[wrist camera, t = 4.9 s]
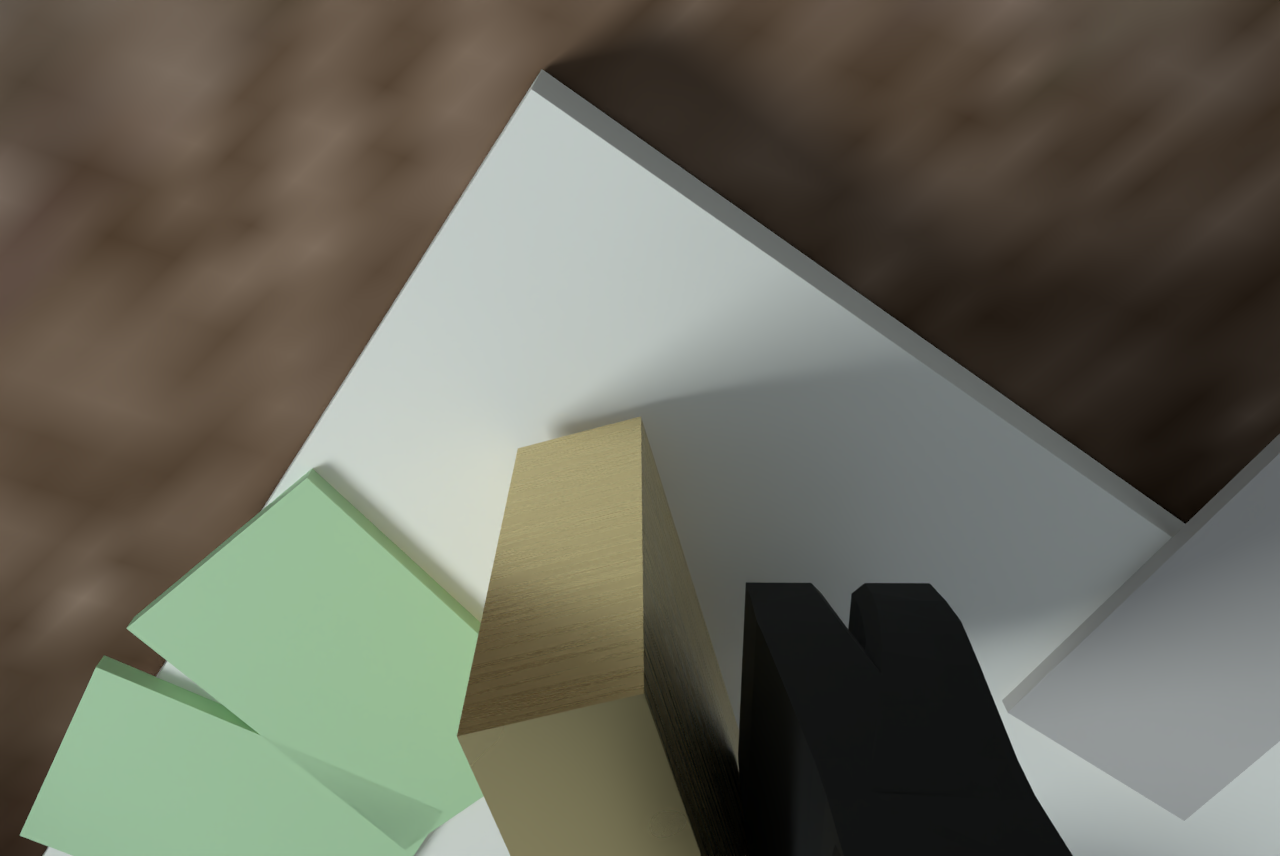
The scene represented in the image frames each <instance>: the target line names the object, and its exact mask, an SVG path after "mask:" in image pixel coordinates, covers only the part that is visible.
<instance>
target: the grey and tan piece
mask: <svg viewBox="0 0 1280 856" xmlns="http://www.w3.org/2000/svg"><path fill="white" fill-rule="evenodd" d="M457 738H458V740H459V743H460V745H461V747H462V749H463V752H464V754H465V756H466V758H467V760H468V763H469V765H470V767H471V769H472V772H473V774H474V776H475V778H476V780H477V783H478V785H479V787H480V789H481V792H482V794H483V796H484V798H485V800H486V803H487V805H488V807H489V809H490V812H491V814H492V816H493V818H494V820H495V823H496V825H497V827H498V829H499V832H500V834H501V836H502V838H503V840H504V843H505V845H506V847H507V849H508V852H509V854H510V856H749V852H748V846H747V840H746V833H745V824H744V815H743V805H742V796H741V787H740V778H739V765H738V743H739V729H738V726H737V722H736V719H735V716H734V713H733V710H732V706H731V703H730V700H729V697H728V694H727V690H726V687H725V684H724V681H723V678H722V674H721V671H720V668H719V665H718V662H717V658H716V655H715V652H714V649H713V646H712V642H711V639H710V636H709V633H708V630H707V626H706V623H705V620H704V617H703V614H702V610H701V607H700V604H699V601H698V598H697V594H696V591H695V588H694V585H693V582H692V578H691V575H690V572H689V569H688V566H687V562H686V559H685V556H684V553H683V550H682V546H681V543H680V540H679V537H678V534H677V530H676V527H675V524H674V521H673V517H672V514H671V511H670V508H669V505H668V501H667V498H666V495H665V492H664V489H663V485H662V482H661V479H660V476H659V473H658V469H657V466H656V463H655V460H654V457H653V453H652V450H651V447H650V444H649V441H648V437H647V434H646V431H645V428H644V425H643V421H642V418H641V417H637V418H633V419H629V420H625V421H621V422H617V423H614V424H610V425H606V426H602V427H598V428H594V429H590V430H587V431H583V432H579V433H575V434H571V435H567V436H564V437H560V438H556V439H552V440H548V441H544V442H540V443H537V444H533V445H529V446H525V447H521V448H518V450H517V454H516V459H515V464H514V469H513V473H512V478H511V483H510V488H509V492H508V497H507V502H506V506H505V511H504V516H503V521H502V525H501V530H500V535H499V539H498V544H497V549H496V554H495V558H494V563H493V568H492V572H491V577H490V582H489V587H488V591H487V596H486V601H485V606H484V610H483V615H482V620H481V624H480V629H479V634H478V639H477V643H476V648H475V653H474V657H473V662H472V667H471V672H470V676H469V681H468V686H467V691H466V695H465V700H464V705H463V709H462V714H461V719H460V724H459V728H458V733H457Z"/></svg>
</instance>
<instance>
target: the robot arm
mask: <svg viewBox="0 0 1280 856" xmlns="http://www.w3.org/2000/svg"><path fill="white" fill-rule="evenodd" d="M738 765H739V778H740V787H741V796H742V805H743V815H744V824H745V833H746V840H747V846H748V852H749V856H1073V855H1072V854H1071V852H1070V850H1069V849H1068V847H1067V846H1066V844H1065V842H1064V841H1063V839H1062V838H1061V836H1060V834H1059V833H1058V831H1057V830H1056V828H1055V826H1054V825H1053V823H1052V822H1051V820H1050V819H1049V817H1048V815H1047V814H1046V812H1045V811H1044V809H1043V807H1042V806H1041V804H1040V803H1039V801H1038V799H1037V798H1036V796H1035V794H1034V792H1033V790H1032V788H1031V786H1030V784H1029V782H1028V780H1027V778H1026V776H1025V774H1024V772H1023V770H1022V767H1021V765H1020V763H1019V761H1018V759H1017V757H1016V754H1015V752H1014V749H1013V747H1012V744H1011V742H1010V739H1009V737H1008V734H1007V732H1006V729H1005V727H1004V724H1003V722H1002V719H1001V717H1000V714H999V712H998V709H997V707H996V704H995V702H994V699H993V697H992V694H991V692H990V689H989V687H988V684H987V682H986V679H985V677H984V674H983V672H982V669H981V667H980V664H979V662H978V660H977V657H976V655H975V652H974V650H973V648H972V645H971V643H970V641H969V638H968V636H967V633H966V631H965V629H964V627H963V625H962V622H961V620H960V619H959V618H958V616H957V615H956V614H955V612H954V611H953V610H952V608H951V607H950V605H949V604H948V603H947V601H946V600H945V599H944V598H943V597H942V596H941V595H940V594H939V593H938V592H937V591H936V589H935V588H934V587H933V586H932V585H931V584H930V583H864V584H863V585H862V586H860V587H859V588H858V589H857V590H855V591H854V592H853V593H852V594H851V605H850V616H849V627H848V628H847V627H846V626H845V624H844V623H843V622H842V620H841V619H840V618H839V616H838V615H837V614H836V612H835V611H834V610H833V608H832V607H831V606H830V604H829V603H828V602H827V600H826V599H825V597H824V596H823V595H822V593H821V592H820V591H819V590H818V589H817V588H816V587H815V586H814V585H813V584H812V583H761V582H746V588H745V610H744V632H743V655H742V677H741V699H740V721H739V743H738Z"/></svg>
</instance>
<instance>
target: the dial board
mask: <svg viewBox="0 0 1280 856" xmlns="http://www.w3.org/2000/svg"><path fill="white" fill-rule="evenodd" d="M637 417H641V418H642V421H643V425H644V428H645V431H646V434H647V437H648V441H649V444H650V447H651V450H652V453H653V457H654V460H655V463H656V466H657V469H658V473H659V476H660V479H661V482H662V485H663V489H664V492H665V495H666V498H667V501H668V505H669V508H670V511H671V514H672V517H673V521H674V524H675V527H676V530H677V534H678V537H679V540H680V543H681V546H682V550H683V553H684V556H685V559H686V562H687V566H688V569H689V572H690V575H691V578H692V582H693V585H694V588H695V591H696V594H697V598H698V601H699V604H700V607H701V610H702V614H703V617H704V620H705V623H706V626H707V630H708V633H709V636H710V639H711V642H712V646H713V649H714V652H715V655H716V658H717V662H718V665H719V668H720V671H721V674H722V678H723V681H724V684H725V687H726V690H727V694H728V697H729V700H730V703H731V706H732V710H733V713H734V716H735V719H736V722H737V726H738V729H739V721H740V699H741V677H742V655H743V632H744V610H745V588H746V582H761V583H812V584H813V585H814V586H815V587H816V588H817V589H818V590H819V591H820V592H821V593H822V595H823V596H824V597H825V599H826V600H827V602H828V603H829V604H830V606H831V607H832V608H833V610H834V611H835V612H836V614H837V615H838V616H839V618H840V619H841V620H842V622H843V623H844V624H845V626H846V627H847V628H848V627H849V616H850V605H851V594H852V593H853V592H854V591H855V590H857V589H858V588H859V587H860V586H862V585H863V584H864V583H930V584H931V585H932V586H933V587H934V588H935V589H936V591H937V592H938V593H939V594H940V595H941V596H942V597H943V598H944V599H945V600H946V601H947V603H948V604H949V605H950V607H951V608H952V610H953V611H954V612H955V614H956V615H957V616H958V618H959V619H960V620H961V622H962V625H963V627H964V629H965V631H966V633H967V636H968V638H969V641H970V643H971V645H972V648H973V650H974V652H975V655H976V657H977V660H978V662H979V664H980V667H981V669H982V672H983V674H984V677H985V679H986V682H987V684H988V687H989V689H990V692H991V694H992V697H993V699H994V702H995V704H996V707H997V709H998V712H999V714H1000V717H1001V719H1002V722H1003V724H1004V727H1005V729H1006V732H1007V734H1008V737H1009V739H1010V742H1011V744H1012V747H1013V749H1014V752H1015V754H1016V757H1017V759H1018V761H1019V763H1020V765H1021V767H1022V770H1023V772H1024V774H1025V776H1026V778H1027V780H1028V782H1029V784H1030V786H1031V788H1032V790H1033V792H1034V794H1035V796H1036V798H1037V799H1038V801H1039V803H1040V804H1041V806H1042V807H1043V809H1044V811H1045V812H1046V814H1047V815H1048V817H1049V819H1050V820H1051V822H1052V823H1053V825H1054V826H1055V828H1056V830H1057V831H1058V833H1059V834H1060V836H1061V838H1062V839H1063V841H1064V842H1065V844H1066V846H1067V847H1068V849H1069V850H1070V852H1071V854H1072V855H1073V856H1280V434H1279V435H1278V436H1277V437H1276V438H1275V439H1274V440H1273V441H1271V442H1270V443H1269V444H1268V445H1267V446H1266V447H1265V448H1264V449H1263V450H1262V451H1261V452H1260V453H1259V454H1258V455H1257V456H1256V457H1255V458H1254V459H1253V460H1252V461H1251V462H1250V463H1249V464H1248V465H1247V466H1245V467H1244V468H1243V469H1242V470H1241V471H1240V472H1239V473H1238V474H1237V475H1236V476H1235V477H1234V478H1233V479H1232V480H1231V481H1230V482H1229V483H1228V484H1227V485H1226V486H1225V487H1224V488H1223V489H1222V490H1220V491H1219V492H1218V493H1217V494H1216V495H1215V496H1214V497H1213V498H1212V499H1211V500H1210V501H1209V502H1208V503H1207V504H1206V505H1205V506H1204V507H1203V508H1202V509H1201V510H1200V511H1199V512H1198V513H1197V514H1196V515H1194V516H1193V517H1192V518H1191V519H1190V520H1189V521H1188V522H1187V523H1186V524H1185V523H1183V522H1182V521H1181V520H1179V519H1178V518H1176V517H1175V516H1173V515H1172V514H1171V513H1169V512H1168V511H1166V510H1165V509H1164V508H1162V507H1161V506H1159V505H1158V504H1157V503H1155V502H1154V501H1152V500H1151V499H1149V498H1148V497H1147V496H1145V495H1144V494H1142V493H1141V492H1140V491H1138V490H1137V489H1135V488H1134V487H1132V486H1131V485H1130V484H1128V483H1127V482H1125V481H1124V480H1123V479H1121V478H1120V477H1118V476H1117V475H1115V474H1114V473H1113V472H1111V471H1110V470H1108V469H1107V468H1106V467H1104V466H1103V465H1101V464H1100V463H1098V462H1097V461H1096V460H1094V459H1093V458H1091V457H1090V456H1089V455H1087V454H1086V453H1084V452H1083V451H1082V450H1080V449H1079V448H1077V447H1076V446H1074V445H1073V444H1072V443H1070V442H1069V441H1067V440H1066V439H1065V438H1063V437H1062V436H1060V435H1059V434H1057V433H1056V432H1055V431H1053V430H1052V429H1050V428H1049V427H1048V426H1046V425H1045V424H1043V423H1042V422H1040V421H1039V420H1038V419H1036V418H1035V417H1033V416H1032V415H1031V414H1029V413H1028V412H1026V411H1025V410H1024V409H1022V408H1021V407H1019V406H1018V405H1016V404H1015V403H1014V402H1012V401H1011V400H1009V399H1008V398H1007V397H1005V396H1004V395H1002V394H1001V393H999V392H998V391H997V390H995V389H994V388H992V387H991V386H990V385H988V384H987V383H985V382H984V381H982V380H981V379H980V378H978V377H977V376H975V375H974V374H973V373H971V372H970V371H968V370H967V369H966V368H964V367H963V366H961V365H960V364H958V363H957V362H956V361H954V360H953V359H951V358H950V357H949V356H947V355H946V354H944V353H943V352H941V351H940V350H939V349H937V348H936V347H934V346H933V345H932V344H930V343H929V342H927V341H926V340H924V339H923V338H922V337H920V336H919V335H917V334H916V333H915V332H913V331H912V330H910V329H909V328H908V327H906V326H905V325H903V324H902V323H900V322H899V321H898V320H896V319H895V318H893V317H892V316H891V315H889V314H888V313H886V312H885V311H883V310H882V309H881V308H879V307H878V306H876V305H875V304H874V303H872V302H871V301H869V300H868V299H866V298H865V297H864V296H862V295H861V294H859V293H858V292H857V291H855V290H854V289H852V288H851V287H850V286H848V285H847V284H845V283H844V282H842V281H841V280H840V279H838V278H837V277H835V276H834V275H833V274H831V273H830V272H828V271H827V270H825V269H824V268H823V267H821V266H820V265H818V264H817V263H816V262H814V261H813V260H811V259H810V258H808V257H807V256H806V255H804V254H803V253H801V252H800V251H799V250H797V249H796V248H794V247H793V246H792V245H790V244H789V243H787V242H786V241H784V240H783V239H782V238H780V237H779V236H777V235H776V234H775V233H773V232H772V231H770V230H769V229H767V228H766V227H765V226H763V225H762V224H760V223H759V222H758V221H756V220H755V219H753V218H752V217H750V216H749V215H748V214H746V213H745V212H743V211H742V210H741V209H739V208H738V207H736V206H735V205H734V204H732V203H731V202H729V201H728V200H726V199H725V198H724V197H722V196H721V195H719V194H718V193H717V192H715V191H714V190H712V189H711V188H709V187H708V186H707V185H705V184H704V183H702V182H701V181H700V180H698V179H697V178H695V177H694V176H692V175H691V174H690V173H688V172H687V171H685V170H684V169H683V168H681V167H680V166H678V165H677V164H676V163H674V162H673V161H671V160H670V159H668V158H667V157H666V156H664V155H663V154H661V153H660V152H659V151H657V150H656V149H654V148H653V147H651V146H650V145H649V144H647V143H646V142H644V141H643V140H642V139H640V138H639V137H637V136H636V135H634V134H633V133H632V132H630V131H629V130H627V129H626V128H625V127H623V126H622V125H620V124H619V123H617V122H616V121H615V120H613V119H612V118H610V117H609V116H608V115H606V114H605V113H603V112H602V111H601V110H599V109H598V108H596V107H595V106H593V105H592V104H591V103H589V102H588V101H586V100H585V99H584V98H582V97H581V96H579V95H578V94H576V93H575V92H574V91H572V90H571V89H569V88H568V87H567V86H565V85H564V84H562V83H561V82H559V81H558V80H557V79H555V78H554V77H552V76H551V75H550V74H548V73H547V72H545V71H544V70H543V69H542V70H541V71H540V73H539V74H538V76H537V77H536V79H535V81H534V82H533V84H532V85H531V87H530V88H529V90H528V92H527V93H526V95H525V96H524V98H523V100H522V101H521V103H520V104H519V106H518V107H517V109H516V111H515V112H514V114H513V115H512V117H511V118H510V120H509V122H508V123H507V125H506V126H505V128H504V129H503V131H502V133H501V134H500V136H499V137H498V139H497V140H496V142H495V144H494V145H493V147H492V148H491V150H490V151H489V153H488V155H487V156H486V158H485V159H484V161H483V162H482V164H481V166H480V167H479V169H478V170H477V172H476V174H475V175H474V177H473V178H472V180H471V181H470V183H469V185H468V186H467V188H466V189H465V191H464V192H463V194H462V196H461V197H460V199H459V200H458V202H457V203H456V205H455V207H454V208H453V210H452V211H451V213H450V214H449V216H448V218H447V219H446V221H445V222H444V224H443V225H442V227H441V229H440V230H439V232H438V233H437V235H436V236H435V238H434V240H433V241H432V243H431V244H430V246H429V248H428V249H427V251H426V252H425V254H424V255H423V257H422V259H421V260H420V262H419V263H418V265H417V266H416V268H415V270H414V271H413V273H412V274H411V276H410V277H409V279H408V281H407V282H406V284H405V285H404V287H403V288H402V290H401V292H400V293H399V295H398V296H397V298H396V299H395V301H394V303H393V304H392V306H391V307H390V309H389V310H388V312H387V314H386V315H385V317H384V318H383V320H382V322H381V323H380V325H379V326H378V328H377V329H376V331H375V333H374V334H373V336H372V337H371V339H370V340H369V342H368V344H367V345H366V347H365V348H364V350H363V351H362V353H361V355H360V356H359V358H358V359H357V361H356V362H355V364H354V366H353V367H352V369H351V370H350V372H349V373H348V375H347V377H346V378H345V380H344V381H343V383H342V384H341V386H340V388H339V389H338V391H337V392H336V394H335V395H334V397H333V399H332V400H331V402H330V403H329V405H328V407H327V408H326V410H325V411H324V413H323V414H322V416H321V418H320V419H319V421H318V422H317V424H316V425H315V427H314V429H313V430H312V432H311V433H310V435H309V436H308V438H307V440H306V441H305V443H304V444H303V446H302V447H301V449H300V451H299V452H298V454H297V455H296V457H295V458H294V460H293V462H292V463H291V465H290V466H289V468H288V469H287V471H286V473H285V474H284V476H283V477H282V479H281V481H280V482H279V484H278V485H277V487H276V488H275V490H274V492H273V493H272V495H271V496H270V498H269V499H268V501H267V503H266V504H265V506H264V507H263V509H262V510H261V511H260V512H259V513H258V514H257V515H256V516H255V517H253V518H252V519H251V520H250V521H249V522H247V523H246V524H245V525H244V526H243V527H241V528H240V529H239V530H238V531H237V532H235V533H234V534H233V535H232V536H231V537H229V538H228V539H227V540H226V541H225V542H223V543H222V544H221V545H220V546H219V547H217V548H216V549H215V550H214V551H213V552H211V553H210V554H209V555H208V556H207V557H205V558H204V559H203V560H202V561H201V562H200V563H198V564H197V565H196V566H195V567H194V568H192V569H191V570H190V571H189V572H188V573H186V574H185V575H184V576H183V577H182V578H180V579H179V580H178V581H177V582H176V583H174V584H173V585H172V586H171V587H170V588H168V589H167V590H166V591H165V592H164V593H162V594H161V595H160V596H159V597H158V598H156V599H155V600H154V601H153V602H152V603H150V604H149V605H148V606H147V607H146V608H145V609H143V610H142V611H141V612H140V613H139V614H137V615H136V616H135V617H134V618H133V620H132V621H131V623H130V624H129V625H128V627H127V629H128V630H129V631H130V632H132V633H133V634H134V635H135V636H137V637H138V638H139V639H140V640H142V641H143V642H144V643H145V644H147V645H148V646H149V647H150V648H152V649H153V650H154V651H155V652H157V653H158V654H159V655H161V656H162V657H163V658H164V659H166V662H165V663H164V665H163V666H162V668H161V669H160V671H159V673H158V674H157V676H156V677H155V676H152V675H150V674H148V673H145V672H143V671H141V670H138V669H136V668H133V667H131V666H129V665H126V664H124V663H121V662H119V661H117V660H114V659H112V658H109V657H107V656H105V655H104V656H103V658H102V659H101V661H100V662H99V664H98V665H97V666H96V668H95V670H94V673H93V675H92V677H91V679H90V681H89V684H88V686H87V688H86V690H85V692H84V695H83V697H82V699H81V701H80V704H79V706H78V708H77V710H76V712H75V715H74V717H73V719H72V721H71V723H70V726H69V728H68V730H67V732H66V734H65V737H64V739H63V741H62V743H61V745H60V748H59V750H58V752H57V754H56V756H55V759H54V761H53V763H52V765H51V767H50V770H49V772H48V774H47V776H46V778H45V781H44V783H43V785H42V787H41V789H40V792H39V794H38V796H37V798H36V800H35V803H34V805H33V807H32V809H31V811H30V814H29V816H28V818H27V820H26V822H25V825H24V827H23V829H22V831H21V833H20V836H22V837H25V838H27V839H30V840H33V841H35V842H38V843H41V844H43V845H46V846H48V847H47V849H46V851H45V852H44V854H43V855H42V856H510V854H509V852H508V849H507V847H506V845H505V843H504V840H503V838H502V836H501V834H500V832H499V829H498V827H497V825H496V823H495V820H494V818H493V816H492V814H491V812H490V809H489V807H488V805H487V803H486V800H485V798H484V796H483V794H482V792H481V789H480V787H479V785H478V783H477V780H476V778H475V776H474V774H473V772H472V769H471V767H470V765H469V763H468V760H467V758H466V756H465V754H464V752H463V749H462V747H461V745H460V743H459V740H458V738H457V733H458V728H459V724H460V719H461V714H462V709H463V705H464V700H465V695H466V691H467V686H468V681H469V676H470V672H471V667H472V662H473V657H474V653H475V648H476V643H477V639H478V634H479V629H480V624H481V620H482V615H483V610H484V606H485V601H486V596H487V591H488V587H489V582H490V577H491V572H492V568H493V563H494V558H495V554H496V549H497V544H498V539H499V535H500V530H501V525H502V521H503V516H504V511H505V506H506V502H507V497H508V492H509V488H510V483H511V478H512V473H513V469H514V464H515V459H516V454H517V450H518V448H521V447H525V446H529V445H533V444H537V443H540V442H544V441H548V440H552V439H556V438H560V437H564V436H567V435H571V434H575V433H579V432H583V431H587V430H590V429H594V428H598V427H602V426H606V425H610V424H614V423H617V422H621V421H625V420H629V419H633V418H637Z"/></svg>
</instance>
